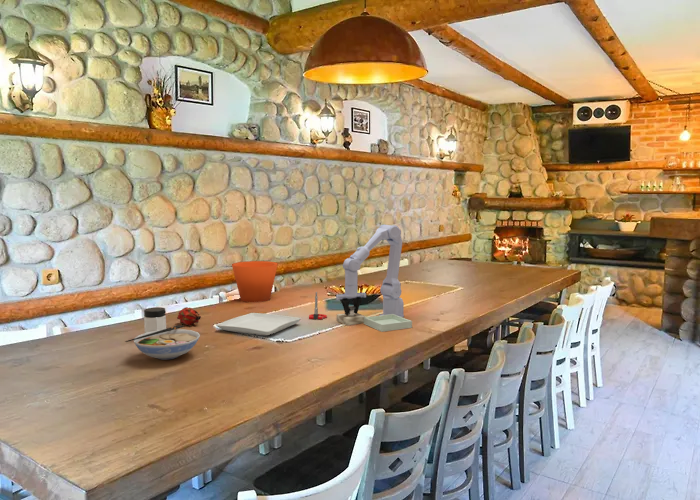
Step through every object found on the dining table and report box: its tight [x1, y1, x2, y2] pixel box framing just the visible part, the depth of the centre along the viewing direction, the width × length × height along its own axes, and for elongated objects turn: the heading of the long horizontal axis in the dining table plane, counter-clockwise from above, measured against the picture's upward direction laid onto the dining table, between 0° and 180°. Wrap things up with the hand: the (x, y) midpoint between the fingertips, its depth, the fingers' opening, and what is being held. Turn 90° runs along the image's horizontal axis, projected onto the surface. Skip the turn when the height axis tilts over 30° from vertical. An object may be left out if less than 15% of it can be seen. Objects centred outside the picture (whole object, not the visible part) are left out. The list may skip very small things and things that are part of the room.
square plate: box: [215, 312, 302, 336], centre depth 238 cm, size 27×27×4 cm
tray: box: [363, 314, 413, 333], centre depth 243 cm, size 16×16×3 cm
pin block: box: [336, 312, 367, 326], centre depth 250 cm, size 10×10×3 cm
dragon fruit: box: [176, 306, 202, 327], centre depth 243 cm, size 8×8×12 cm
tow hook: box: [308, 291, 328, 321], centre depth 258 cm, size 8×13×9 cm
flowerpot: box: [231, 260, 279, 303], centre depth 300 cm, size 25×25×20 cm
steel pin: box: [348, 305, 356, 317], centre depth 250 cm, size 4×4×7 cm
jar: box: [143, 306, 167, 333], centre depth 220 cm, size 9×8×12 cm
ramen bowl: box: [124, 324, 201, 361], centre depth 196 cm, size 25×23×8 cm
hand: (351, 313), depth 250 cm, fingers closed on steel pin, 4 cm apart
